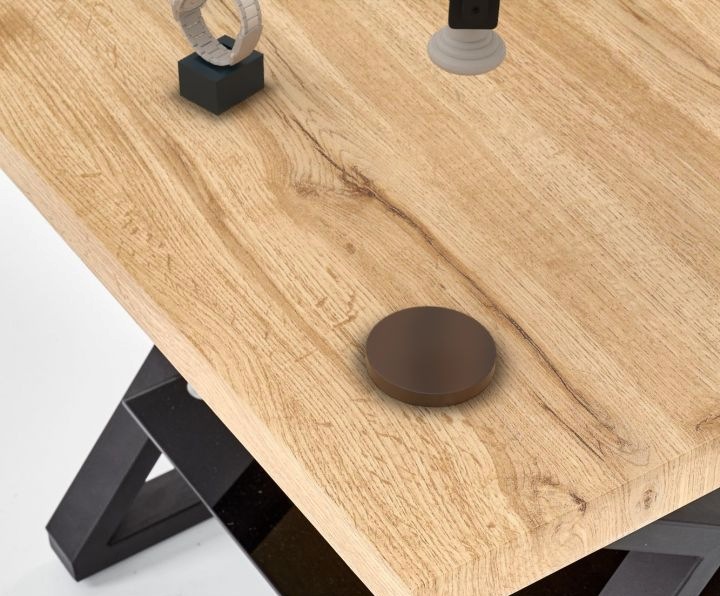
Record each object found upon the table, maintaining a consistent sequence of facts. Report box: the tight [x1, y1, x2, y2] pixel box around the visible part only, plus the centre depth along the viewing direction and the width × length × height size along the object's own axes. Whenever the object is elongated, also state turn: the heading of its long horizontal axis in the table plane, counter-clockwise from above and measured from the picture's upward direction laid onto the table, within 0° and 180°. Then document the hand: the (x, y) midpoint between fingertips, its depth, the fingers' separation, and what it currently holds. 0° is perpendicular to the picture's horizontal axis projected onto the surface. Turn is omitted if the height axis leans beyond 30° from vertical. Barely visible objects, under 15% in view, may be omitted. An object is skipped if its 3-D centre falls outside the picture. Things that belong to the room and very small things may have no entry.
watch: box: [167, 0, 265, 116], centre depth 126 cm, size 6×8×11 cm
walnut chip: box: [364, 305, 498, 408], centre depth 108 cm, size 9×9×1 cm
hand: (470, 7), depth 103 cm, fingers closed on chess piece, 3 cm apart
